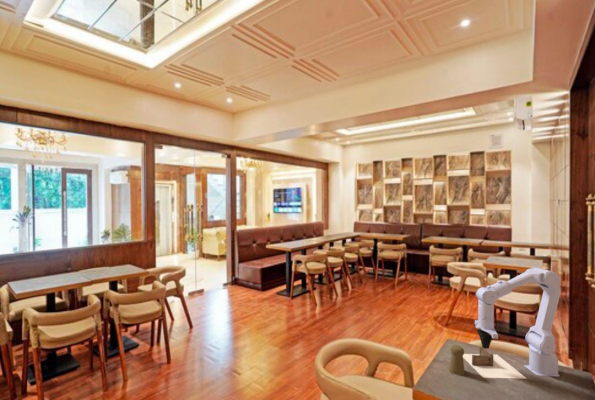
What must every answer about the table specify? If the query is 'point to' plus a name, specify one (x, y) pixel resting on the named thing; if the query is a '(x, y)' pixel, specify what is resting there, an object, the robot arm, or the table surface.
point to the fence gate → (480, 360)
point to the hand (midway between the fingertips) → (485, 347)
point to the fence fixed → (483, 352)
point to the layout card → (495, 368)
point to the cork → (457, 360)
